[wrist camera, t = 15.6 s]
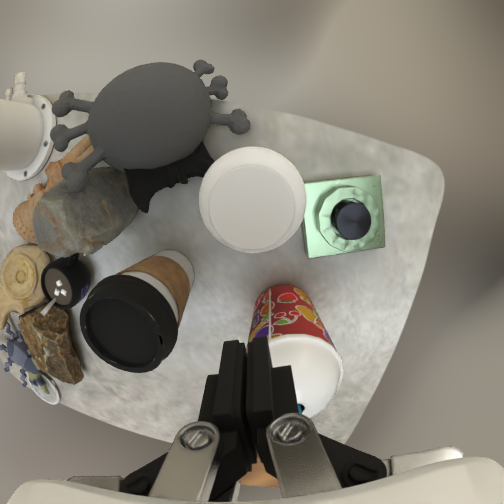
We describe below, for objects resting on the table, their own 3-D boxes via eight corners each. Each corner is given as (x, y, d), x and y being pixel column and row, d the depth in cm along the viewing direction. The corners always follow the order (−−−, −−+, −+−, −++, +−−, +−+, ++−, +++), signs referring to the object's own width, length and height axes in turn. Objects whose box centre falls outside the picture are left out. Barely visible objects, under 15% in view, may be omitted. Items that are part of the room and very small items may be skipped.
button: (334, 238, 29) (338, 242, 28) (330, 203, 28) (334, 205, 27) (366, 233, 29) (372, 237, 27) (364, 199, 28) (370, 201, 26)
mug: (88, 304, 36) (60, 329, 29) (56, 279, 35) (25, 299, 28) (118, 232, 33) (86, 248, 26) (81, 206, 33) (46, 216, 25)
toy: (72, 352, 41) (12, 297, 39) (63, 361, 38) (1, 303, 35) (48, 399, 41) (-6, 351, 38) (40, 410, 37) (-16, 358, 35)
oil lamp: (-11, 320, 30) (-26, 322, 26) (11, 233, 34) (-2, 226, 29) (41, 346, 34) (30, 353, 29) (64, 256, 37) (55, 251, 32)
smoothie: (233, 300, 35) (207, 428, 16) (290, 260, 34) (324, 369, 14) (274, 347, 37) (282, 479, 18) (329, 311, 35) (381, 434, 16)
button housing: (305, 253, 33) (311, 264, 30) (296, 183, 31) (301, 184, 28) (378, 242, 33) (391, 251, 29) (373, 174, 31) (386, 175, 27)
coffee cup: (208, 304, 36) (178, 384, 21) (144, 304, 36) (90, 374, 21) (201, 237, 33) (158, 286, 19) (134, 241, 34) (62, 285, 19)
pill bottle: (288, 230, 33) (309, 276, 18) (216, 224, 33) (181, 265, 18) (294, 158, 31) (323, 147, 16) (220, 153, 31) (187, 137, 16)
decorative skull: (50, 132, 25) (88, 252, 27) (35, 62, 15) (72, 225, 16) (192, 90, 34) (239, 188, 35) (229, 26, 23) (297, 145, 24)
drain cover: (27, 388, 42) (29, 385, 42) (58, 410, 42) (60, 408, 43) (26, 363, 40) (29, 360, 40) (60, 388, 40) (62, 384, 41)
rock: (88, 393, 32) (56, 396, 35) (108, 367, 38) (75, 375, 41) (29, 308, 29) (6, 324, 32) (57, 289, 35) (30, 307, 38)
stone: (120, 152, 30) (165, 195, 30) (97, 202, 34) (135, 244, 34) (32, 174, 19) (79, 235, 19) (20, 236, 23) (61, 292, 23)
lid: (201, 474, 35) (200, 478, 34) (204, 445, 33) (204, 449, 32) (278, 483, 35) (278, 487, 35) (293, 456, 33) (293, 460, 32)
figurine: (122, 142, 28) (27, 253, 30) (135, 145, 32) (43, 246, 34) (90, 98, 26) (2, 212, 29) (105, 105, 30) (19, 208, 33)
